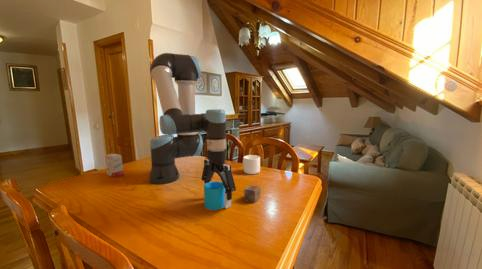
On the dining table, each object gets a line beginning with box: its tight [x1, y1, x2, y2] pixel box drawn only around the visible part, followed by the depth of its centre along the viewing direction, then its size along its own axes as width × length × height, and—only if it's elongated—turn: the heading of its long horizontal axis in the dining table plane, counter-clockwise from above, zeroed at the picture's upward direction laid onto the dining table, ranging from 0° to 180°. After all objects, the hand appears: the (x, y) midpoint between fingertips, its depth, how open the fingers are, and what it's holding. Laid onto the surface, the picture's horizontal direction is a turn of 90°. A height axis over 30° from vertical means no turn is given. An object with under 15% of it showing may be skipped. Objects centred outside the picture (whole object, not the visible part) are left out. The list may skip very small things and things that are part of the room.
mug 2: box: [242, 154, 261, 175], centre depth 122 cm, size 12×10×9 cm
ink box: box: [104, 153, 124, 178], centre depth 117 cm, size 9×5×12 cm, turn 58°
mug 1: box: [203, 181, 226, 211], centre depth 84 cm, size 12×8×8 cm
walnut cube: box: [243, 184, 261, 204], centre depth 87 cm, size 5×5×5 cm
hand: (218, 202), depth 84 cm, fingers open, 11 cm apart
